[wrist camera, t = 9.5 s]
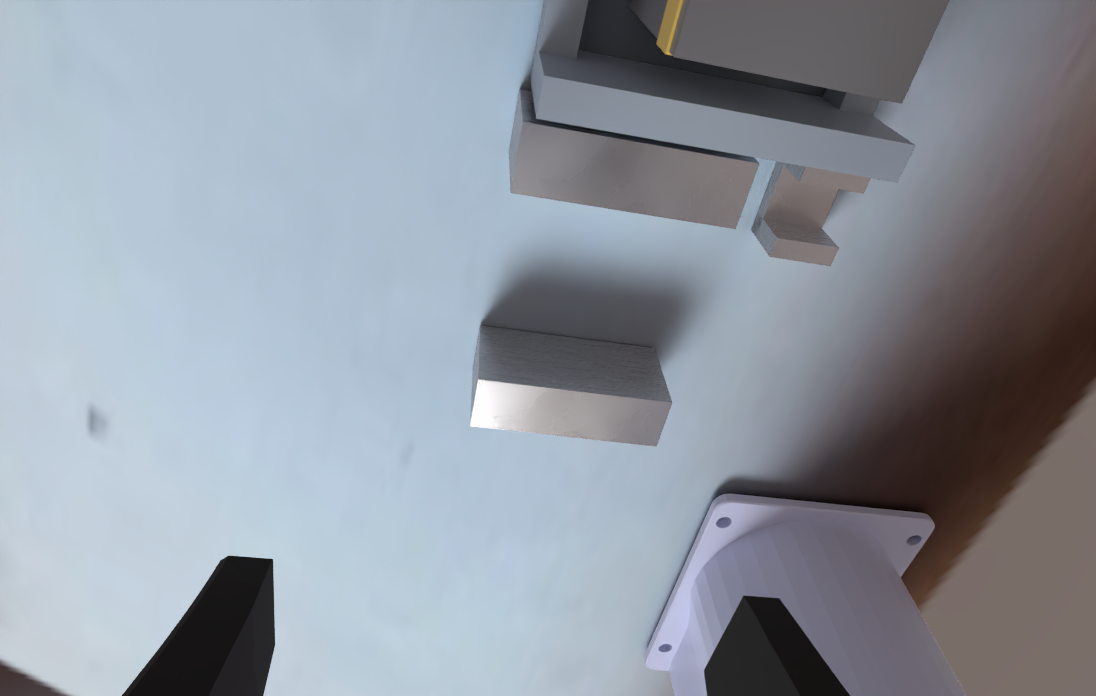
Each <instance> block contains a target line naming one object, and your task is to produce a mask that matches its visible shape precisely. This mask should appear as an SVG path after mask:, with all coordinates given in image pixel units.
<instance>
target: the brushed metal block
mask: <svg viewBox="0 0 1096 696" xmlns="http://www.w3.org/2000/svg"><path fill="white" fill-rule="evenodd" d="M758 166H759V163H758V161H757V160H756V159H755V158H754V157H749V156H744V155H738V154H733V153H727V152H721V151H716V150H710V149H704V148H699V147H693V146H688V145H682V144H676V143H671V142H665V141H659V140H654V139H648V138H643V137H637V136H631V135H626V134H620V133H614V132H609V131H603V130H598V129H592V128H586V127H581V126H575V125H569V124H564V123H558V122H553V121H547V120H541V119H536V113H535V107H534V100H533V94H532V91H529V90H524V89H519V95H518V101H517V107H516V113H515V119H514V125H513V131H512V137H511V143H510V149H509V167H510V191H511V193H514V194H521V195H527V196H533V197H539V198H546V199H552V200H558V201H564V202H570V203H577V204H583V205H589V206H595V207H602V208H608V209H614V210H620V211H626V212H633V213H639V214H645V215H651V216H658V217H664V218H670V219H676V220H682V221H689V222H695V223H701V224H707V225H714V226H720V227H726V228H732V229H736V226H737V224H738V221H739V218H740V215H741V213H742V210H743V207H744V204H745V202H746V199H747V196H748V193H749V191H750V188H751V185H752V182H753V180H754V177H755V174H756V171H757V169H758ZM671 405H672V400H671V397H670V394H669V391H668V388H667V385H666V382H665V379H664V376H663V373H662V369H661V366H660V363H659V360H658V357H657V354H656V351H655V348H650V347H642V346H634V345H627V344H619V343H611V342H604V341H596V340H589V339H581V338H573V337H566V336H558V335H550V334H543V333H535V332H527V331H520V330H512V329H505V328H497V327H489V326H482V325H480V329H479V335H478V341H477V347H476V353H475V359H474V365H473V374H472V396H471V418H470V426H474V427H483V428H492V429H502V430H511V431H520V432H529V433H538V434H547V435H557V436H566V437H575V438H584V439H593V440H602V441H612V442H621V443H630V444H639V445H648V446H657V443H658V441H659V438H660V435H661V432H662V430H663V427H664V424H665V421H666V419H667V416H668V413H669V410H670V408H671Z"/></svg>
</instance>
